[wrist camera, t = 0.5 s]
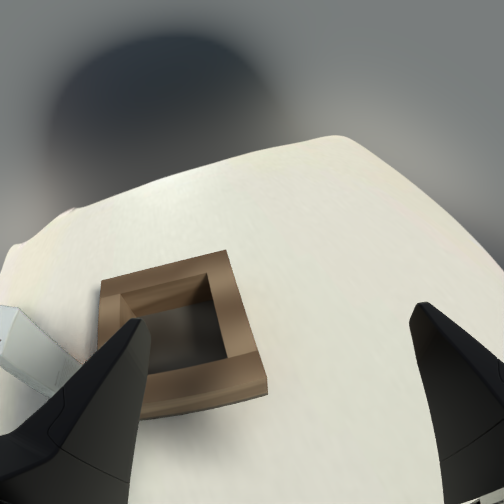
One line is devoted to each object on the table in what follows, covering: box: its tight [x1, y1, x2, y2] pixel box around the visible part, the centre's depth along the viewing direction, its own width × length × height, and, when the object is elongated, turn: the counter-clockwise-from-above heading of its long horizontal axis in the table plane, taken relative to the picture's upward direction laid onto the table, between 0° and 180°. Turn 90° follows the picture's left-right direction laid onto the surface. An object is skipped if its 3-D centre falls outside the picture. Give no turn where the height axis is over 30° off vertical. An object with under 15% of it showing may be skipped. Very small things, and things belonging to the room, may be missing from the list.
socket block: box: [97, 250, 268, 421], centre depth 23 cm, size 13×13×5 cm
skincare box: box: [0, 305, 83, 398], centre depth 18 cm, size 6×4×12 cm
